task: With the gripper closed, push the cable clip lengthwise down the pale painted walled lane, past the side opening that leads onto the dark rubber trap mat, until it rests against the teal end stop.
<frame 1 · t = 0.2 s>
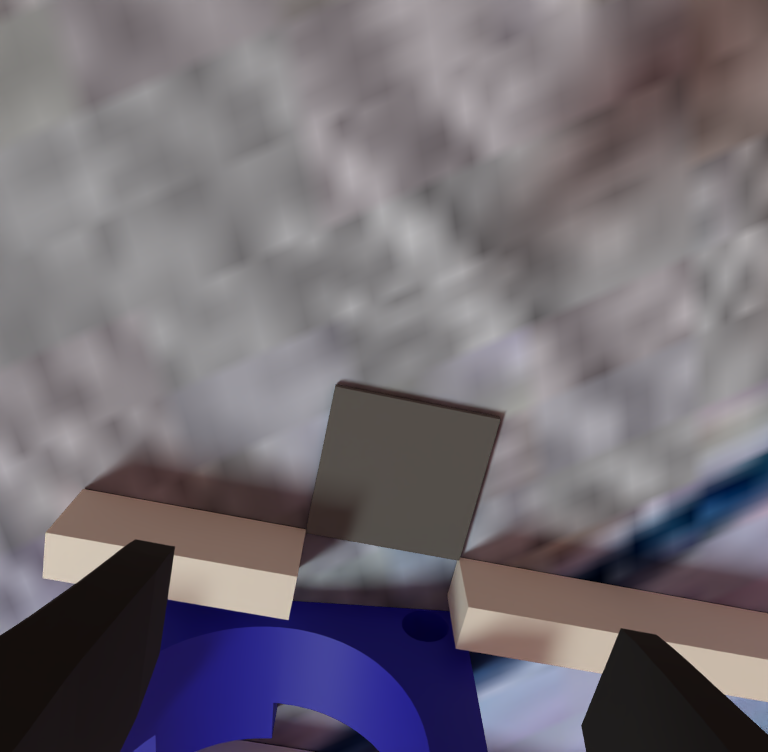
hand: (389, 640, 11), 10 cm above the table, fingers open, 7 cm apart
lane: (449, 688, 23), on the table
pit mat: (399, 474, 21), on the table
cable clip: (280, 647, 23), on the table
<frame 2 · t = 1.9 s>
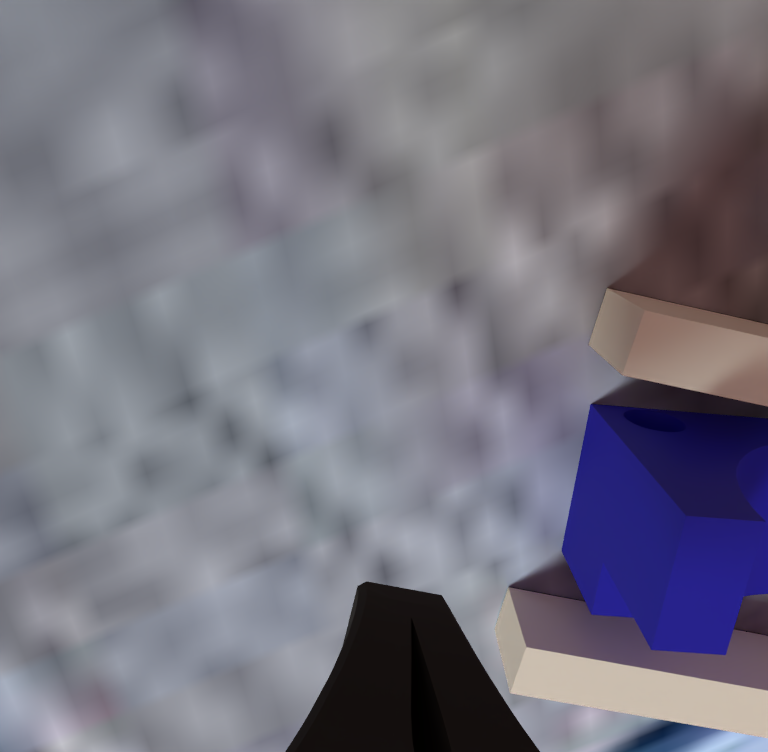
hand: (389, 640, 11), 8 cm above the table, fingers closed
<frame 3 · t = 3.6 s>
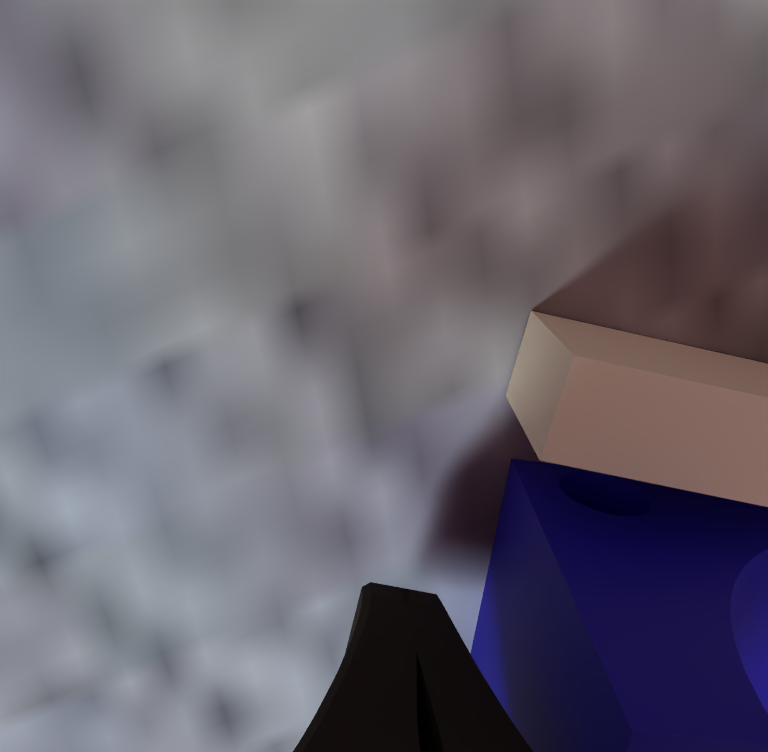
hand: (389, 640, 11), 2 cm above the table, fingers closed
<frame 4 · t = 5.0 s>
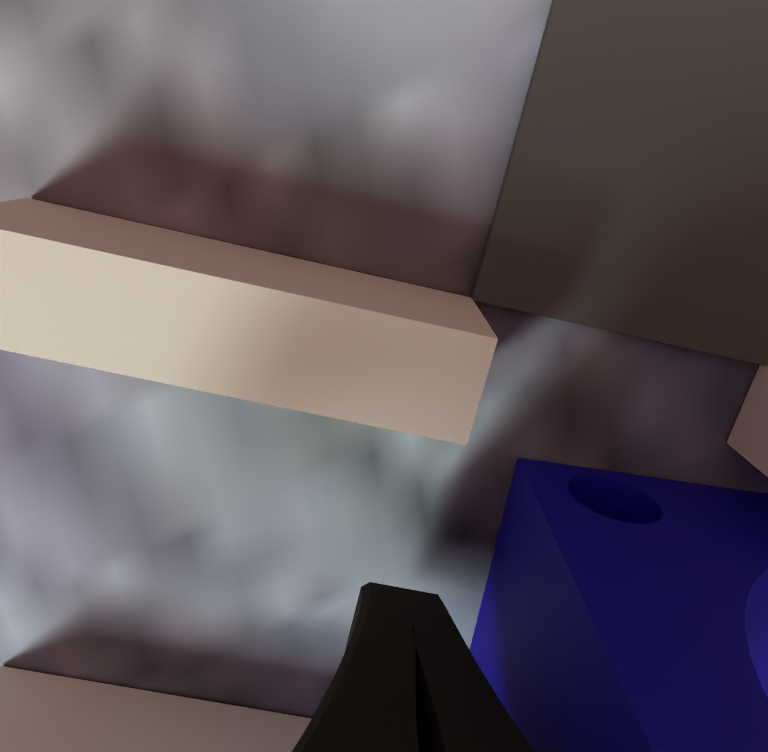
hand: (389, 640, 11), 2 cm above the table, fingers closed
lane: (701, 627, 13), on the table
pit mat: (672, 175, 10), on the table
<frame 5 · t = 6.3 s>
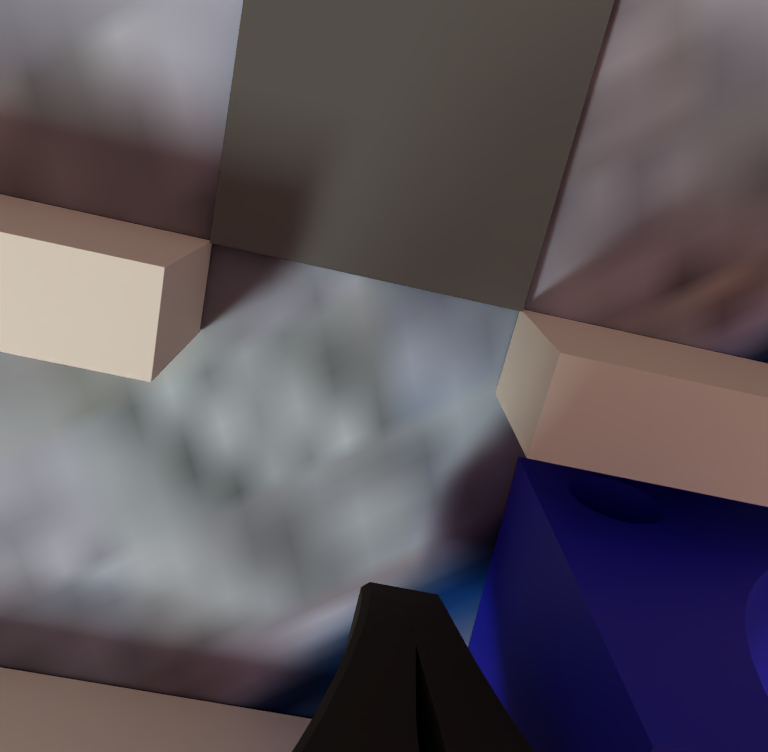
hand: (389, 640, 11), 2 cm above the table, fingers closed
lane: (492, 588, 13), on the table
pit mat: (405, 110, 10), on the table
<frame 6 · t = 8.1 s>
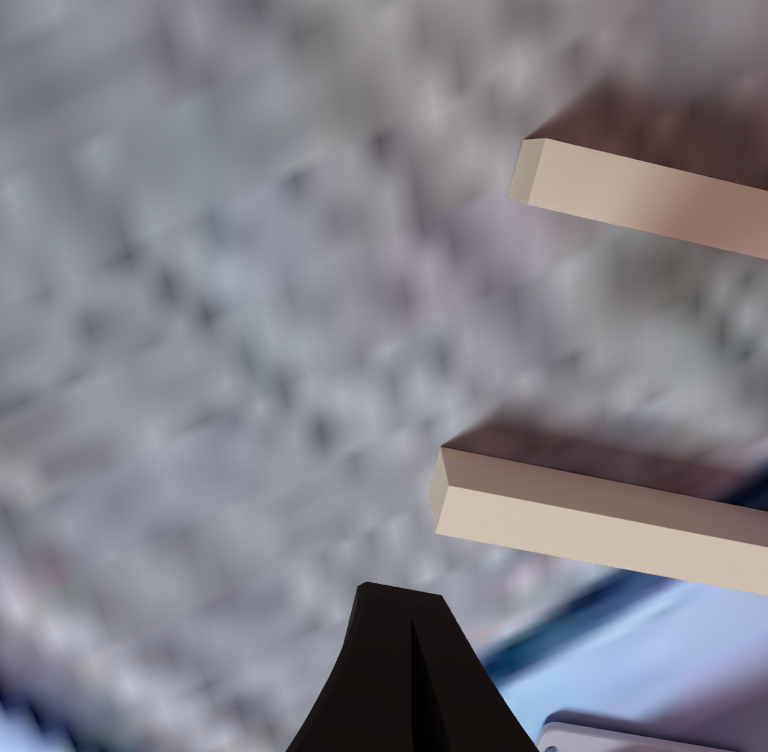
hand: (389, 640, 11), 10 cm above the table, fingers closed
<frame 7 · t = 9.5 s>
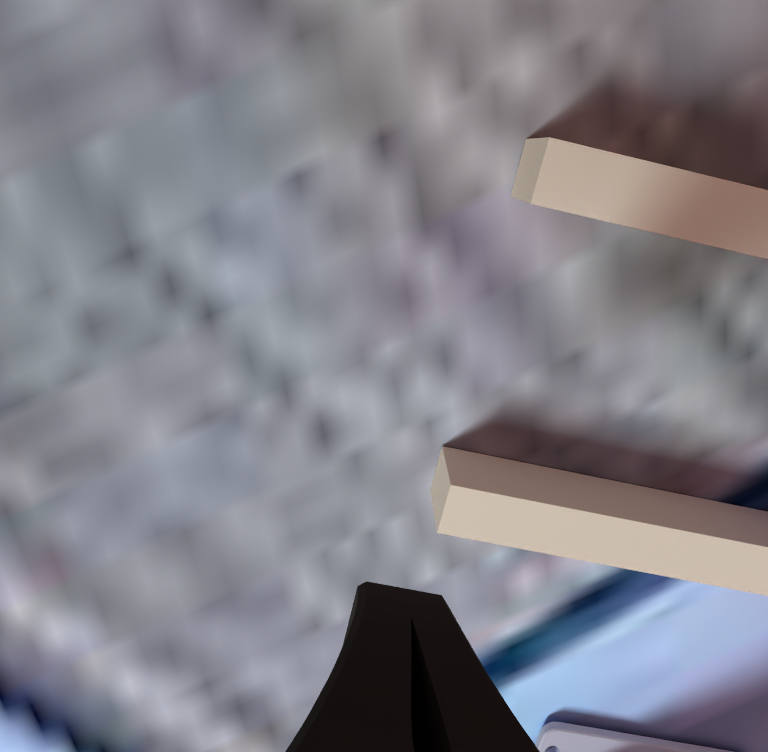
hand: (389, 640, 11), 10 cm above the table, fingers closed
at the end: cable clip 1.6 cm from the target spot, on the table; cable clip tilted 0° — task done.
